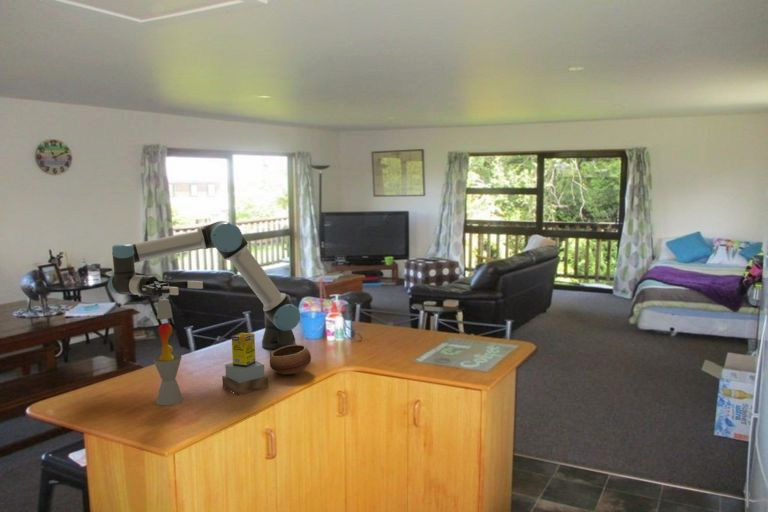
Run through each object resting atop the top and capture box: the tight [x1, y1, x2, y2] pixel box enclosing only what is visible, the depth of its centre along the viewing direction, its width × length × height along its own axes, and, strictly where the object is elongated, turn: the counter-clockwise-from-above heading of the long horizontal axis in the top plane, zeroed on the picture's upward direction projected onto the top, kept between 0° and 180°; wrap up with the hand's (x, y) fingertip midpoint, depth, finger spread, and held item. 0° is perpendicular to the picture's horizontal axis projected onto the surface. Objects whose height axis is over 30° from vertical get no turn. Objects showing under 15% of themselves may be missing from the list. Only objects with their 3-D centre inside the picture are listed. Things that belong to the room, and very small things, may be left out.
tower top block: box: [224, 360, 265, 383], centre depth 211 cm, size 10×10×4 cm
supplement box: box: [231, 332, 256, 367], centre depth 210 cm, size 6×6×11 cm
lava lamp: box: [152, 298, 184, 406], centre depth 198 cm, size 9×9×35 cm
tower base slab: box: [222, 374, 269, 396], centre depth 212 cm, size 12×12×4 cm
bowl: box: [269, 344, 312, 376], centre depth 227 cm, size 16×16×10 cm
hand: (190, 288), depth 217 cm, fingers open, 13 cm apart
